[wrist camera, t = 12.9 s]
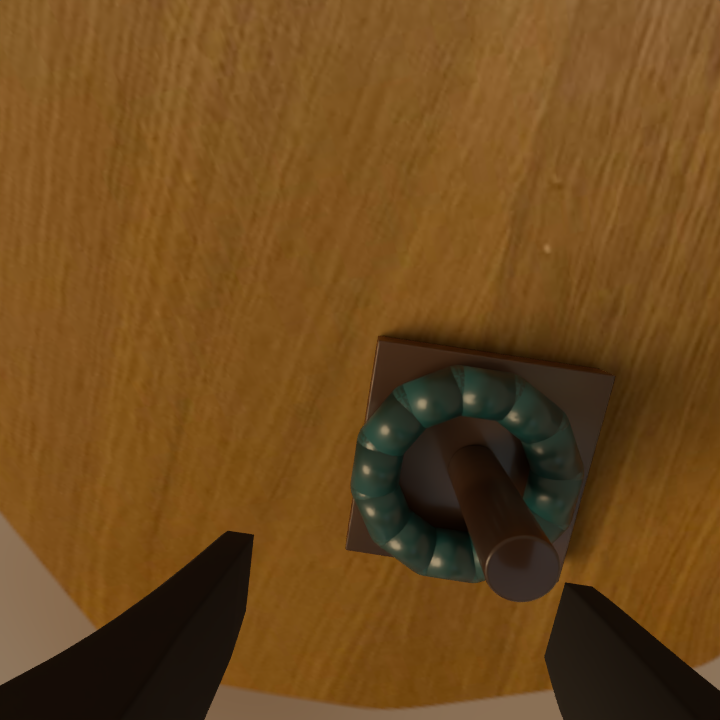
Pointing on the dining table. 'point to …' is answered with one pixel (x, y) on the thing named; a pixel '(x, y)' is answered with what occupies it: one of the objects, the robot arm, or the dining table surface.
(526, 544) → the post
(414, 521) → the ring
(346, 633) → the dining table surface
